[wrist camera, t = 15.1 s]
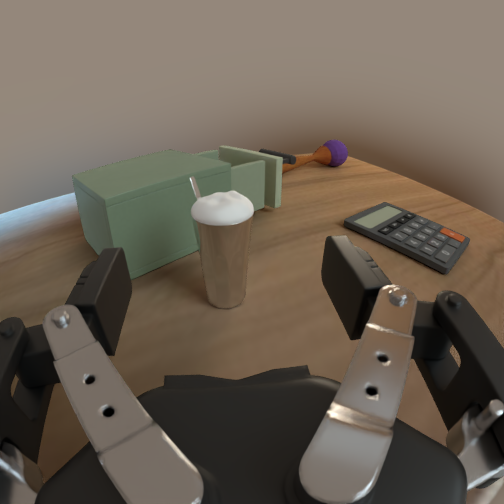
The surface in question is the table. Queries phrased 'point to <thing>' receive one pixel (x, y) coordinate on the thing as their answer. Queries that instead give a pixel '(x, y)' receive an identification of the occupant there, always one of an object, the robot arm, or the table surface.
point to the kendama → (322, 156)
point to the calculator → (410, 235)
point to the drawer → (254, 173)
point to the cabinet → (147, 205)
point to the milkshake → (223, 244)
